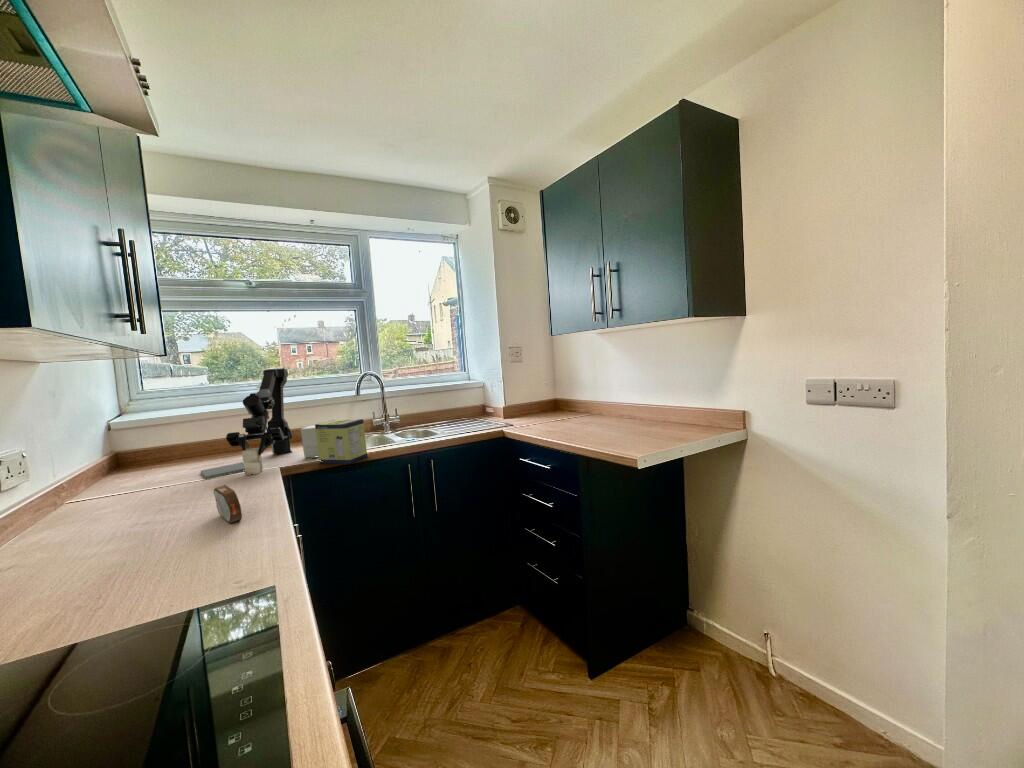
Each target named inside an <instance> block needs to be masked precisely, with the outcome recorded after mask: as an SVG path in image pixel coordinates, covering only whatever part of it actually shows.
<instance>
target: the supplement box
mask: <svg viewBox="0 0 1024 768" xmlns="http://www.w3.org/2000/svg"><path fill="white" fill-rule="evenodd" d="M315 425H316V424H314V425H309V426H305V427H302V428H300V434H301V435H300V436H301V443H302V448H303V450H302V451H303V456H304V457H311V458H315V457H314V456H319V455H318V446H317V438H316V430H315ZM304 457H303V458H304Z"/></svg>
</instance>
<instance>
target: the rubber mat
mask: <svg viewBox="0 0 1024 768" xmlns="http://www.w3.org/2000/svg"><path fill="white" fill-rule="evenodd" d="M243 470H244V462H243V461H241V462H236V463H231V464H226V465H221V466H217V467H211V468H207V469H201V470H200V473H201V475H202V474H203V475H202V476H203V477H204V479H205V478H209V479H212V478H211V477H214V478H216V477H215V476H219V477H221V476H220V475H223V476H225V475H224V474H228V475H230V474H229V473H233V474H235V473H234V472H237V473H239V472H238V471H242V472H244V471H243Z"/></svg>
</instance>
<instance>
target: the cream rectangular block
mask: <svg viewBox="0 0 1024 768" xmlns="http://www.w3.org/2000/svg"><path fill="white" fill-rule="evenodd" d="M258 451H259V447H251V448H250V447H249V449H246V450H244V451H243V450H242V451H241V453H242V462H243V463H244V470H245V471H244V476H252V475H251V474H253V475H259V474H261V473H262V472H263V471H264V470H263V469H264V467H263V461H262V454H261V455H258ZM262 470H263V471H262ZM261 471H262V472H261ZM258 473H259V474H258Z"/></svg>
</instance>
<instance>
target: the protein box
mask: <svg viewBox="0 0 1024 768" xmlns="http://www.w3.org/2000/svg"><path fill="white" fill-rule="evenodd" d="M314 425H315V430H316V438H317V446H318V455H319V457H318V460H321V461H323V463H322V464H339V465H341V464H342V465H344V464H346V465H349V464H354V463H355V462H357V461H360V460H362V459H365V458H368V451H367V448H368V447H367V442H366V441H367V440H366V431H365V425H364V419H361V418H358V419H332V420H328V421H325V422H321V423H317V424H314Z"/></svg>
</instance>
